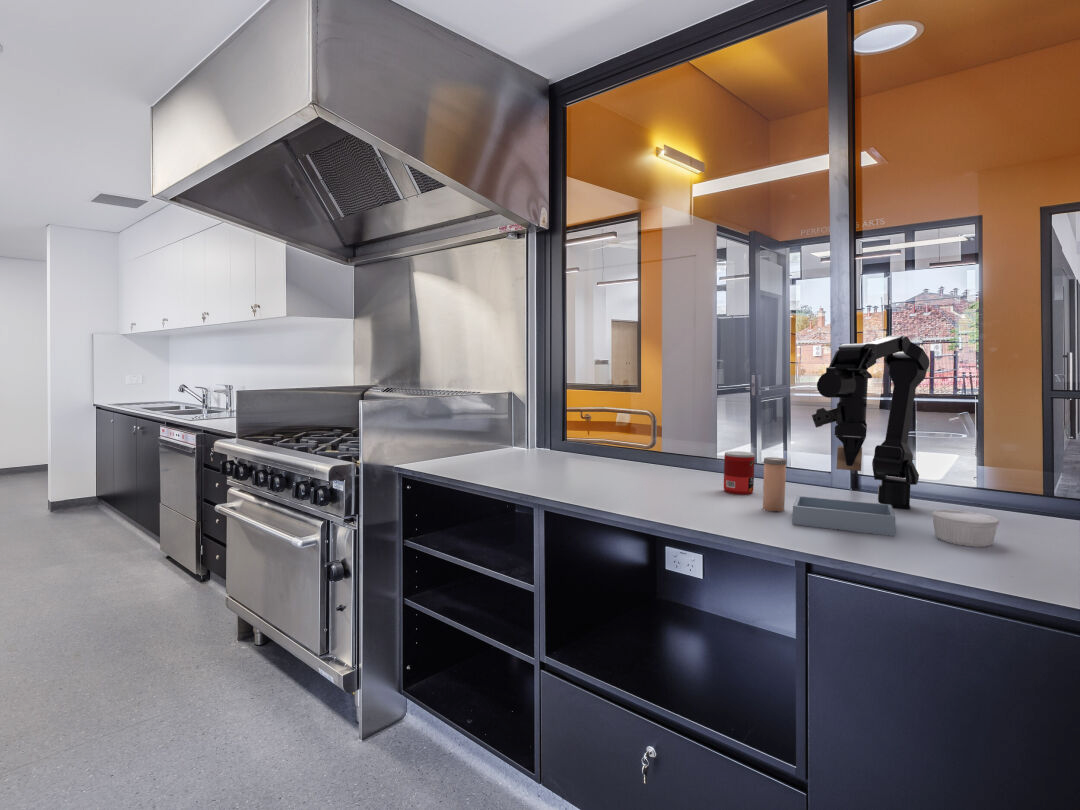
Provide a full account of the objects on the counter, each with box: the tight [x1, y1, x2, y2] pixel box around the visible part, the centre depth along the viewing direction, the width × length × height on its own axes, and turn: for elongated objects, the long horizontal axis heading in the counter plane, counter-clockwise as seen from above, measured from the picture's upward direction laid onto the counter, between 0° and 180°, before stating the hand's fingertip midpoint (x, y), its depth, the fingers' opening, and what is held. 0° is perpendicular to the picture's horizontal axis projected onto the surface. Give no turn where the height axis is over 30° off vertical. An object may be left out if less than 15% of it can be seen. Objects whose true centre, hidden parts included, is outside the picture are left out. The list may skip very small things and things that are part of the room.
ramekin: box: [931, 509, 1000, 548], centre depth 120 cm, size 11×11×5 cm
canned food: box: [723, 450, 755, 495], centre depth 167 cm, size 8×8×11 cm
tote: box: [791, 495, 897, 537], centre depth 133 cm, size 20×13×4 cm, turn 63°
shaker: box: [762, 456, 788, 513], centre depth 146 cm, size 5×5×12 cm
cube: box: [836, 445, 863, 472], centre depth 139 cm, size 5×5×5 cm
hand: (849, 464), depth 139 cm, fingers closed on cube, 5 cm apart
